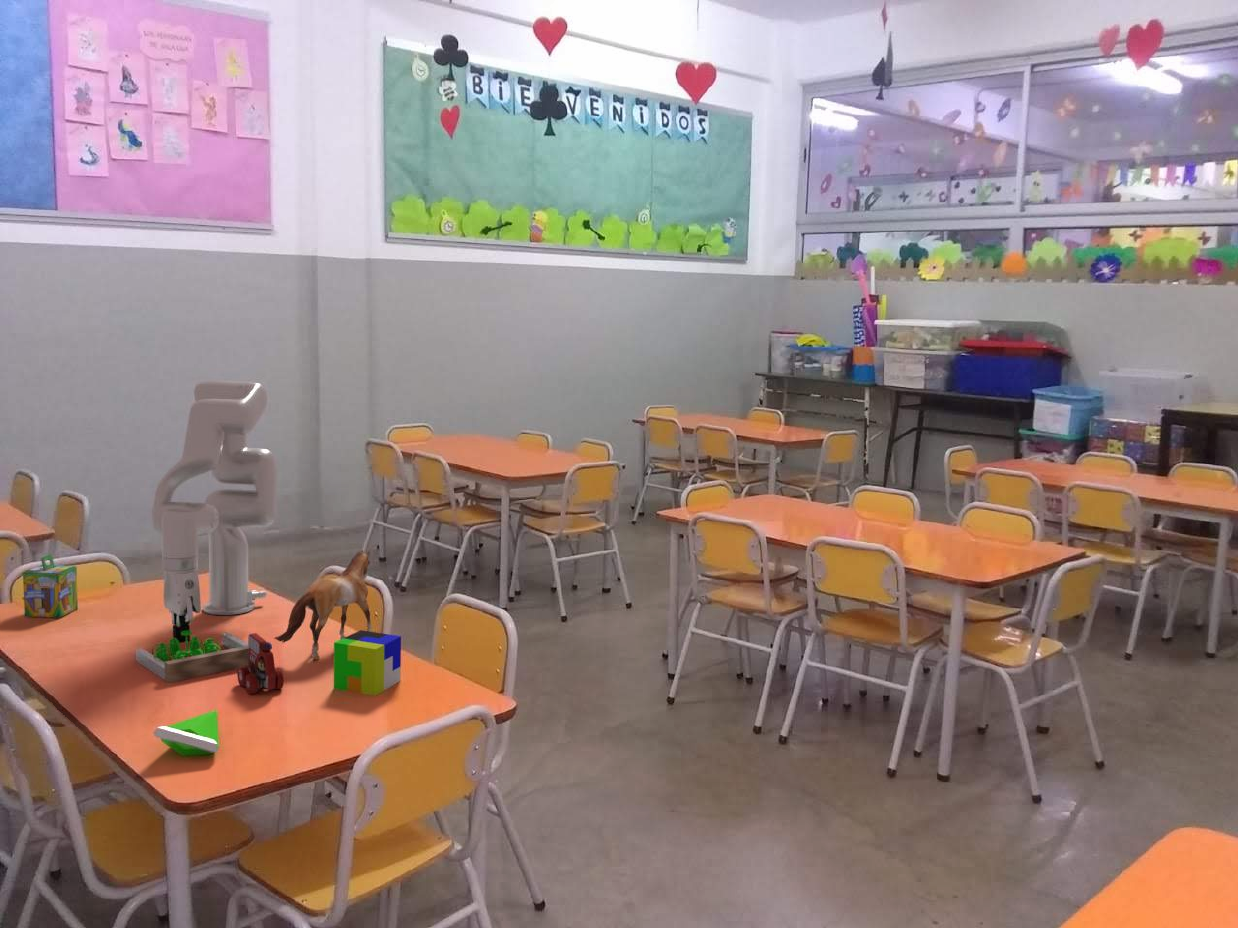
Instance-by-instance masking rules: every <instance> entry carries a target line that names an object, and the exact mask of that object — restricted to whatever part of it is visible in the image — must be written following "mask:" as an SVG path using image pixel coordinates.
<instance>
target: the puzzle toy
mask: <svg viewBox="0 0 1238 928" xmlns="http://www.w3.org/2000/svg"><path fill="white" fill-rule="evenodd" d="M401 665H402V636H401V635H394V634H387V633H382V632H376V631H371V632H369V631H366V630H362V629H361V630H358V631H356V632H354V633H351V634H350V635H348V636H346V637H345V638H343V639H339V640H337V641H334V642H333V689H335V690H340V691H345V692H351V693H357V694H362V695H363V694H364V695H368V696H372V697H373V696H374V697H375V696H377V695H379V694H381V693H382V692H384V691H387V689H389V688H391V687H392V686H394V685H396V684H398V683H400V682H401V675H402V674H401V673H402V671H401V669H402V666H401Z"/></svg>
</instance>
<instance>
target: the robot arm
mask: <svg viewBox="0 0 1238 928" xmlns="http://www.w3.org/2000/svg"><path fill="white" fill-rule="evenodd" d="M193 395H194V403H193V404H192V405H191V407H190V409H189V414H188V420H187V425H186V432H185V439H184V444H183V449H182V455H181V458H180V459H179V461H177V463H175V464H173V466H172V467H170V468H169V469H168V471H166V472H165V474H164V475H163V476H162V478H161V480H160V481H159V482H158V485H157V487H156V490H155V492H154V499H153V503H152V509H151V523H152V524H151V525H152V526H153V529H154V530H155V531H156V532H158V533H159V534H161V560H162V561H161V563H162V569H161V570H162V572H164V575H163V576H164V577H163V604H164V607H165V608H166V609H167V610H168V611H169V613H170V615H171V622H172V623H171V624H172V638H176V639H177V640H178V641H179V643H180V644H182V643H186V636H184V635H181V632H182V631H186V630H189V631H191V630H190V629H191V622H193V621H194V613H195V614H201V611H202V610H203V612H204V613H206V614H210V615H215V616H231V615H239V614H240V615H241V614H245V613H248V612H251V611H252V610H254V609H255V605H256V604H255V602H254V601H255V600H256V599H264V598H266V597H267V592H266V590H258V591H257V590H256V589H255V590H252V589H249V542H248V540H247V537H246V535H245V534H244V532H243V531H242V530H241V527H245V528H246V527H248V528H249V527H250V528H266V527H270V526H271V525H272V524H274V522H275V520H276V515H277V489H278V488H277V487H278V485H277V484H278V483H277V479H278V477H277V462H276V458H275V455H274V453H273V452H272V451H270V450H269V449H267V448H261V447H259V448H258V447H248V446H247V434H249V433H250V432H251V431H253V429H254V428H255V426H256V424H257V423H258V422H259V420H260V418H261V417H262V415H263V414H264V412H265V409H266V407H267V405H268V393H267V390H266V389H265V387H264V385H262V384H261V383H259V382H253V381H236V380H235V381H234V380H232V381H231V380H203V381H201V382H198V383H197V384H196V385H195V386H194V390H193ZM207 472H211V476H212V479H213V480H214V481H215V482H216V483H219V484H224V485H240V486H241V485H245V486H246V485H248V486H254V488H255V489H239V488H237V489H235V488H234V489H233V488H226V489H225V488H221V489H215V490H213V491H211V492H210V493H208V494H207V495H206V497H205V500H204V502H191V501H189V502H188V501H172V500H173V499H172V498H173V497H174V496H173V495H174V494H175V492H176V491H177V489H178V488H179V487H180V486H182V484H184V483H185V482H187V481H189V480H190V479H193V478H195V477H198V476H200V475H203V474H206V473H207ZM207 535H208V574H209V575H208V577H209V578H208V579H209V580H208V581H209V583H208V584H209V589H208V590H209V593H208V594H209V598H208V599H209V600H208V602H206V603H204V604H203V606H202V600H201V587H200V578H199V574H198V570H199V538H198V537H202V536H203V537H204V536H207ZM187 640H188V642H189V643H190V640H191V635H187Z"/></svg>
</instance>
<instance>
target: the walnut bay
mask: <svg viewBox="0 0 1238 928" xmlns="http://www.w3.org/2000/svg"><path fill="white" fill-rule="evenodd" d="M221 645H223V646H224V647H226V648H227V649H224V650H221V651H220V650H218V651H217V652H212V653H207V654H205V653H204V654H202V655H197V656H186V657H184V658H181V659H176V660H171V659H170V660H171V661H170V660H169V661H166V662H163V661H161V660H160V659H158V658H157V656H156V657H154V655H155V654H153V655H152V653H150V652H149V651H147V650H145V649H144V648H138V649H135V661H136V662H137V663H139V664H140V665H142V666H143V667H144V668H146V669H147V670H149V671H150V672H152V673H153V674H155V676H156V675H157V676H158V677H159V678H161V679H162V680H164V681H165V682H166V683H173V682H174V683H175V682H178V681H183V680H188V679H193V678H198V677H203V676H207V675H211V674H212V675H213V674H218V673H222V672H226V671H231V670H236V669H239V668H240V667H244V666H246V667H248V658H249V646H248V642H246V641H244V640H242V639H240V638H239V637H237V636H235V635H233V634H231V633H229V632H225V633H221Z"/></svg>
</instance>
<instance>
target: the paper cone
mask: <svg viewBox="0 0 1238 928" xmlns="http://www.w3.org/2000/svg"><path fill="white" fill-rule="evenodd" d="M152 734H153V736H154V737H156V738H157V739H160V741H161V742H162V743H163V744H165V745H166V746H168V747H169V748H171V749H172V750H174V751H175V752H176V753H177V754H179V755H180V756H183V757H185V756H199V755H201V756H202V755H212V754H213V753H216V752H218V751H219V748H220V745H219V744H220V743H219V726H218V711H217V710H216V709H215V710H211V711H208V712H206V713H203V714H199V715H197V716H194V717H191V718H188V719H184V720H181V721H179V722H177V723H173V724H170V725H167V726H164V725H163V726H158V727H157V728H156V729H154V731H153V733H152Z"/></svg>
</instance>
